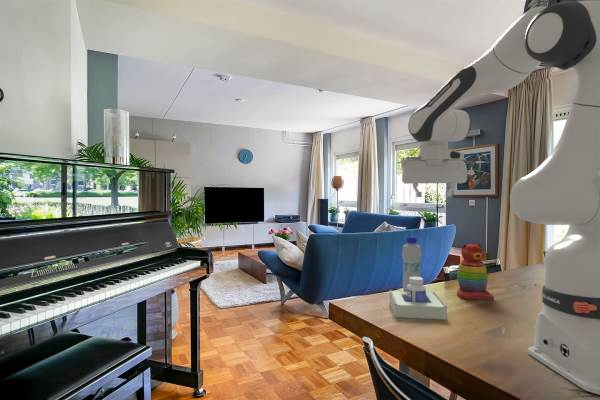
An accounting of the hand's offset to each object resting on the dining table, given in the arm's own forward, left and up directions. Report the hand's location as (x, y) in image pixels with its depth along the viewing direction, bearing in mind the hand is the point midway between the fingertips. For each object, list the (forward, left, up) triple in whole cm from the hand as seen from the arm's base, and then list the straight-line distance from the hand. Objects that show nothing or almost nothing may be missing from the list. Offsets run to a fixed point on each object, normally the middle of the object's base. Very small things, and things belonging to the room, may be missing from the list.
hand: (433, 197), depth 110 cm
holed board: (-12, +8, -34) cm, 37 cm away
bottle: (+7, +6, -34) cm, 36 cm away
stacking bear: (+6, -14, -34) cm, 38 cm away
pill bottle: (-12, +8, -34) cm, 37 cm away
